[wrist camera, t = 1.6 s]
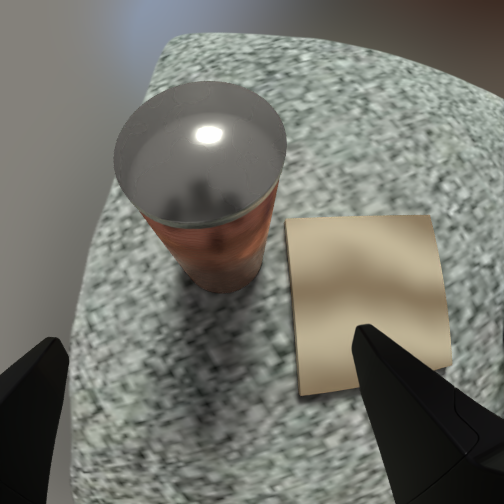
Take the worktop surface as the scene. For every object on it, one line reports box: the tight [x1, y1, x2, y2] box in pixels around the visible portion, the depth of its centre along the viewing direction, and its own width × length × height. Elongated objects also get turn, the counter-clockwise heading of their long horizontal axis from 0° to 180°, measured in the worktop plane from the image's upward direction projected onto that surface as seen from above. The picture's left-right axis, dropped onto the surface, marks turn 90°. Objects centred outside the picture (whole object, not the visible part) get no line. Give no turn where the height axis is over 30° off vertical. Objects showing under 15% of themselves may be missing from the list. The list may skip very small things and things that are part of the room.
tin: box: [114, 81, 287, 293], centre depth 16 cm, size 6×6×13 cm
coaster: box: [284, 215, 452, 396], centre depth 21 cm, size 12×12×1 cm
